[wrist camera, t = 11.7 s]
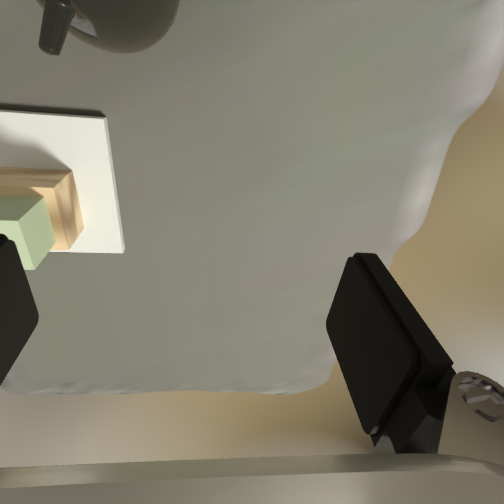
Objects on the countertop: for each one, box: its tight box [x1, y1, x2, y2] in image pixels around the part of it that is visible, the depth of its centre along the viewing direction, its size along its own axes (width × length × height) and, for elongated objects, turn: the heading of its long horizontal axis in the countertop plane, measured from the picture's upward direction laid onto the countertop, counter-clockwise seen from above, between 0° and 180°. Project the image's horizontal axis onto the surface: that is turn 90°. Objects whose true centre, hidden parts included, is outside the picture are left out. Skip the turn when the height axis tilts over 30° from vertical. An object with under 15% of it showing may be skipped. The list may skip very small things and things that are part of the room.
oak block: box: [0, 167, 84, 250], centre depth 35 cm, size 7×7×5 cm
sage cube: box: [0, 195, 57, 270], centre depth 30 cm, size 5×5×5 cm
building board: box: [0, 110, 125, 253], centre depth 37 cm, size 16×15×1 cm
